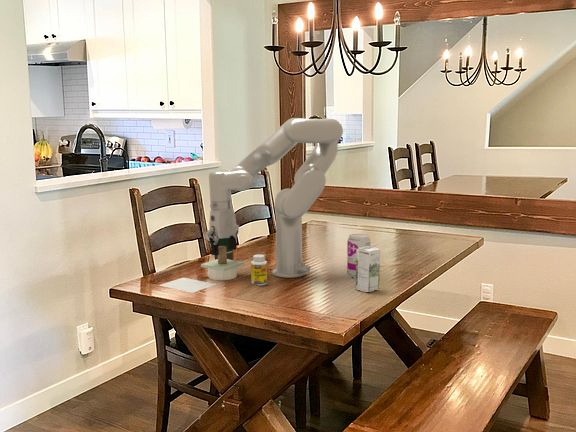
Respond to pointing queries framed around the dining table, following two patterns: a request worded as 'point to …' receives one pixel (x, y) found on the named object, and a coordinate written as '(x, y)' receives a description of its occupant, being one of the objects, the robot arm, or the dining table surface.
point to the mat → (187, 285)
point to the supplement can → (352, 245)
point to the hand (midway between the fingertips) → (223, 252)
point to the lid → (222, 261)
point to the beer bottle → (229, 251)
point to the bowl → (222, 274)
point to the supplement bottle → (259, 270)
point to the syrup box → (367, 268)
